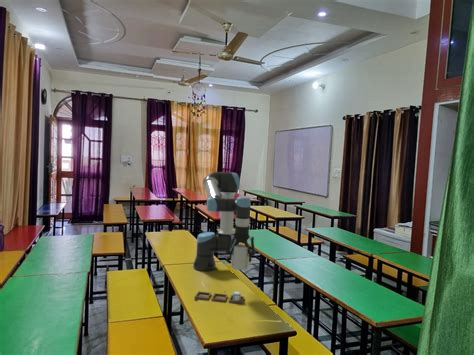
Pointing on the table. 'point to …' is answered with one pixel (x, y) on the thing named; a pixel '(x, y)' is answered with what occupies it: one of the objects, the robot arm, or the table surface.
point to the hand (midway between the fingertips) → (240, 266)
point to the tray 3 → (236, 301)
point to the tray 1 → (202, 295)
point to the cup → (240, 257)
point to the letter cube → (236, 296)
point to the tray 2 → (219, 297)
